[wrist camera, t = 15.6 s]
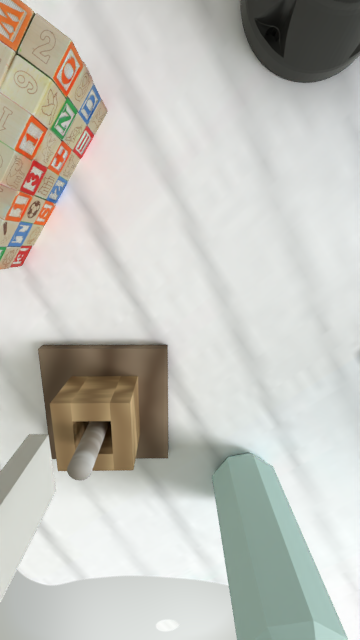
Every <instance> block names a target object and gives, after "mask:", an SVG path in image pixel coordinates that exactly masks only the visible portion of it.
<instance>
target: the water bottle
mask: <svg viewBox="0 0 360 640" xmlns="http://www.w3.org/2000/svg"><path fill="white" fill-rule="evenodd" d="M212 480H213V486H214V493H215V499H216V506H217V512H218V519H219V525H220V532H221V538H222V545H223V551H224V558H225V564H226V570H227V577H228V583H229V589H230V596H231V603H232V609H233V615H234V622H235V629H236V635H237V640H348V638H347V636H346V633H345V631H344V629H343V627H342V624H341V622H340V620H339V617H338V615H337V613H336V611H335V608H334V606H333V604H332V601H331V599H330V597H329V594H328V592H327V590H326V588H325V585H324V583H323V581H322V578H321V576H320V574H319V571H318V569H317V567H316V565H315V562H314V560H313V558H312V555H311V553H310V551H309V548H308V546H307V544H306V542H305V539H304V537H303V535H302V532H301V530H300V528H299V525H298V523H297V521H296V519H295V516H294V514H293V512H292V509H291V507H290V505H289V502H288V500H287V498H286V496H285V493H284V491H283V489H282V486H281V484H280V482H279V480H278V477H277V475H276V473H275V470H274V468H273V466H271V465H270V464H268V463H266V462H265V461H263V460H262V459H260V458H258V457H257V456H255V455H253V454H251V453H247V454H240V455H234V456H229V457H228V458H227V459H226V460H225V461H224V462H223V464H222V465H221V466H220V467H219V468H218V469H217V471H216V472H215V473H214V474H213V476H212Z"/></svg>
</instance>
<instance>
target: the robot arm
mask: <svg viewBox="0 0 360 640" xmlns="http://www.w3.org/2000/svg"><path fill="white" fill-rule="evenodd" d="M241 16H242V22H243V27H244V31H245V34H246V37H247V39H248V42H249V44H250V46H251V48H252V50H253V52H254V53H255V55H256V56H257V57H258V59H259V60H260V61H261V62H262V63H263V65H265V66H266V67H267V68H268V69H269V70H270V71H272V72H273V73H275V74H276V75H278V76H280V77H282V78H284V79H287V80H290V81H294V82H302V83H309V82H316V81H321V80H324V79H327V78H330V77H332V76H334V75H336V74H337V73H339V72H341V71H342V70H344V69H345V68H346V67H348V66H349V65H350V64H351V63H352V62H353V61H354V60H355V59H356V58H357V57H358V56H359V55H360V0H241ZM55 492H56V485H55V478H54V471H53V464H52V457H51V449H50V442H49V435H37V434H29V435H28V437H27V438H26V439H25V440H24V442H23V443H22V444H21V446H20V447H19V448H18V450H17V451H16V452H15V453H14V455H13V456H12V457H11V459H10V460H9V461H8V462H7V464H6V465H5V466H4V468H3V469H2V470H1V471H0V602H1V601H2V598H3V596H4V594H5V592H6V590H7V588H8V586H9V584H10V582H11V580H12V578H13V576H14V574H15V572H16V570H17V568H18V566H19V564H20V562H21V560H22V558H23V556H24V554H25V552H26V550H27V548H28V546H29V544H30V542H31V540H32V538H33V536H34V534H35V532H36V530H37V528H38V526H39V524H40V522H41V520H42V518H43V516H44V514H45V512H46V510H47V508H48V506H49V504H50V502H51V500H52V498H53V496H54V494H55Z"/></svg>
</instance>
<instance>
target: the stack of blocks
mask: <svg viewBox="0 0 360 640" xmlns="http://www.w3.org/2000/svg"><path fill="white" fill-rule="evenodd" d="M106 113H107V109H106V107H105V105H104V103H103V101H102V99H101V98H100V96H99V94H98V91H97V89H96V87H95V85H94V83H93V79H92V77H91V75H90V73H89V71H88V69H87V67H86V65H85V63H84V62H82V60H81V58H80V56H79V54H78V52H77V50H76V48H75V46H74V44H73V42H72V40H71V39H70V38H68V37H67V36H66V35H64V34H63V33H62V32H60V31H59V30H58V29H57V28H55V27H54V26H53V25H52V24H50V23H49V22H48V21H47V20H45V19H44V18H43V17H42V16H40V15H39V14H38V13H36V14H35V13H34V11H33V10H32V9H31V8H29V7H28V6H27V5H26V4H24V3H23V2H22V1H20V0H0V269H6V268H10V267H18V266H22V265H23V263H24V261H25V259H26V257H27V255H28V253H29V251H30V249H31V248H32V245H34V244H35V242H36V240H37V238H38V236H39V235H40V233H41V231H42V229H43V227H44V225H45V224H46V222H47V220H48V218H49V217H50V215H51V213H52V211H53V209H54V208H55V206H56V202H57V201H58V199H59V197H60V195H61V193H62V192H63V190H64V188H65V186H66V184H67V182H68V180H69V179H70V177H71V175H72V173H73V171H74V169H75V168H76V166H77V164H78V162H79V160H80V159H81V158H82V156H83V154H84V153H85V151H86V149H87V147H88V145H89V144H90V142H91V140H92V138H93V136H94V134H95V133H96V131H97V130H98V128H99V126H100V124H101V123H102V121H103V119H104V117H105V115H106Z"/></svg>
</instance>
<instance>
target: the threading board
mask: <svg viewBox="0 0 360 640" xmlns="http://www.w3.org/2000/svg"><path fill="white" fill-rule="evenodd" d="M38 353H39V361H40V369H41V377H42V385H43V393H44V402H45V410H46V418H47V426H48V434H49V442H50V449H51V457H52V459H57V458H56V450H55V442H54V434H53V425H52V417H51V409H50V403H51V401H52V400H53V399H54V398H55V396H56V395H57V394H58V393H59V391H60V390H61V389H62V388H63V386H64V385H65V384H66V382H67V381H68V380H69V379H70V377H75V376H138V393H139V419H140V437H139V442H138V448H137V453H136V458H168V351H167V345H43V346H41V347H40V348H39V349H38ZM109 423H110V421H90V422H89V424H88V426H87V428H86V430H85V432H84V434H83V436H82V438H81V440H80V442H79V444H78V446H77V448H76V450H75V453H74V455H73V457H72V459H71V461H70V463H69V465H68V467H67V472H68V474H69V476H70V477H72V478H73V479H75V480H85V479H87V478H88V477H89V476H90V475H91V472H92V469H93V467H94V464H95V461H96V459H97V456H98V453H99V450H100V448H101V445H102V442H103V440H104V437H105V434H106V431H107V429H108V426H109Z"/></svg>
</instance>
